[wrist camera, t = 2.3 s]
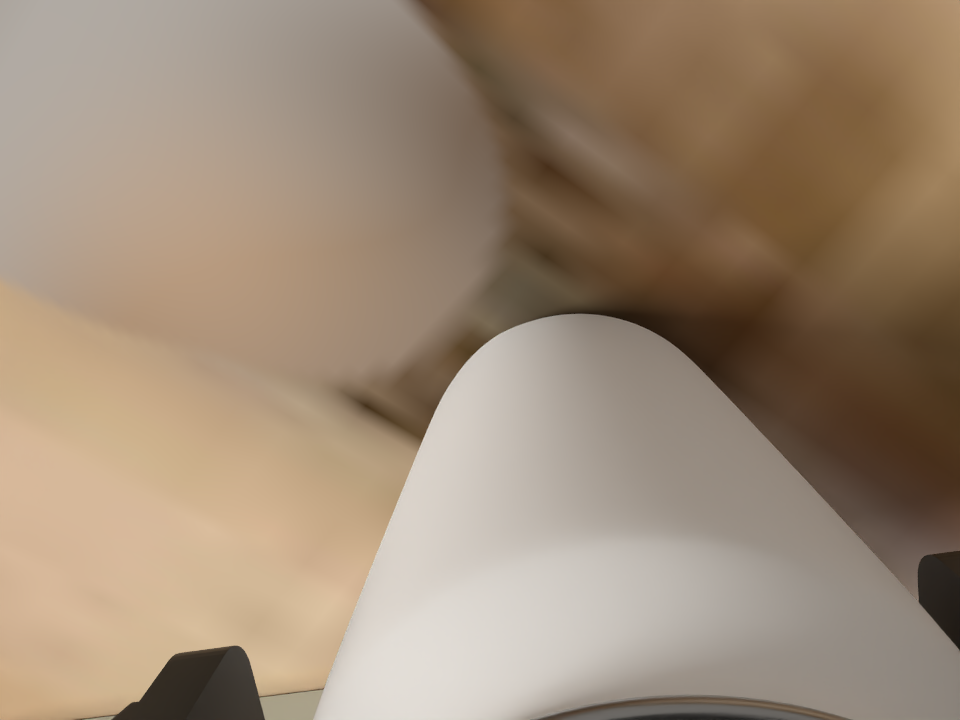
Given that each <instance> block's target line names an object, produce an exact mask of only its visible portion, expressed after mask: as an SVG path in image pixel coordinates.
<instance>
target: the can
mask: <svg viewBox="0 0 960 720" xmlns="http://www.w3.org/2000/svg"><path fill="white" fill-rule="evenodd" d="M313 720H960V650H959V649H958V648H957V646H956V645H955V644H954V643H953V642H952V641H951V639H950V638H949V637H948V636H947V635H946V634H945V632H944V631H943V630H942V629H941V628H940V627H939V625H938V624H937V623H936V622H935V621H934V620H933V618H932V617H931V616H930V615H929V614H928V613H927V612H926V610H925V609H924V608H923V607H922V606H921V605H920V603H919V602H918V601H917V600H916V599H915V598H914V597H913V595H912V594H911V593H910V592H909V591H908V590H907V589H906V588H905V587H904V586H903V585H902V583H901V582H900V581H899V580H898V579H897V578H896V577H895V576H894V575H893V574H892V572H891V571H890V570H889V569H888V568H887V567H886V566H885V565H884V564H883V563H882V562H881V560H880V559H879V558H878V557H877V556H876V555H875V554H874V553H873V552H872V551H871V550H870V548H869V547H868V546H867V545H866V544H865V543H864V542H863V541H862V540H861V539H860V538H859V537H858V536H857V534H856V533H855V532H854V531H853V530H852V529H851V528H850V527H849V526H848V525H847V524H846V523H845V522H844V520H843V519H842V518H841V517H840V516H839V515H838V514H837V513H836V512H835V511H834V510H833V509H832V508H831V507H830V505H829V504H828V503H827V502H826V501H825V500H824V499H823V498H822V497H821V496H820V495H819V494H818V493H817V491H816V490H815V489H814V488H813V487H812V486H811V485H810V484H809V483H808V482H807V481H806V480H805V479H804V478H803V477H802V475H801V474H800V473H799V472H798V471H797V470H796V469H795V468H794V467H793V466H792V465H791V464H790V463H789V462H788V461H787V459H786V458H785V457H784V456H783V455H782V454H781V453H780V452H779V451H778V450H777V449H776V448H775V447H774V446H773V445H772V444H771V442H770V441H769V440H768V439H767V438H766V437H765V436H764V435H763V434H762V433H761V432H760V431H759V430H758V429H757V428H756V427H755V426H754V424H753V423H752V422H751V421H750V420H749V419H748V418H747V417H746V416H745V415H744V414H743V413H742V412H741V411H740V410H739V409H738V408H737V407H736V405H735V404H734V403H733V402H732V401H731V400H730V399H729V398H728V397H727V396H726V395H725V394H724V393H723V392H722V391H721V390H720V389H719V388H718V387H717V386H716V385H715V384H714V383H713V381H712V380H711V379H710V378H709V377H708V376H707V375H706V374H705V373H704V372H703V371H702V370H701V369H700V368H699V367H698V366H697V365H696V364H695V363H694V362H693V361H692V360H691V359H690V358H688V357H687V356H686V355H685V354H684V353H683V352H682V351H680V350H679V349H678V348H677V347H675V346H674V345H673V344H672V343H670V342H669V341H667V340H666V339H664V338H662V337H661V336H659V335H657V334H656V333H654V332H652V331H650V330H648V329H646V328H644V327H641V326H639V325H637V324H634V323H631V322H628V321H625V320H621V319H618V318H613V317H608V316H602V315H594V314H565V315H557V316H551V317H545V318H541V319H537V320H534V321H530V322H527V323H524V324H521V325H519V326H516V327H514V328H511V329H509V330H507V331H505V332H503V333H501V334H499V335H497V336H496V337H494V338H493V339H491V340H490V341H489V342H487V343H486V344H485V345H484V346H482V347H481V348H480V349H479V350H478V351H477V352H476V353H475V354H474V355H473V356H472V357H471V358H470V359H469V360H468V361H467V362H466V363H465V365H464V366H463V367H462V368H461V370H460V371H459V372H458V374H457V375H456V376H455V378H454V379H453V381H452V382H451V384H450V385H449V387H448V388H447V390H446V392H445V394H444V395H443V397H442V399H441V401H440V403H439V405H438V407H437V409H436V411H435V413H434V416H433V418H432V420H431V422H430V425H429V427H428V429H427V432H426V434H425V436H424V439H423V441H422V444H421V446H420V449H419V451H418V453H417V456H416V458H415V461H414V463H413V466H412V468H411V470H410V473H409V475H408V478H407V480H406V483H405V485H404V488H403V490H402V492H401V495H400V497H399V500H398V502H397V505H396V507H395V510H394V512H393V515H392V517H391V520H390V522H389V525H388V527H387V530H386V532H385V535H384V537H383V539H382V542H381V544H380V547H379V549H378V552H377V554H376V557H375V559H374V562H373V564H372V567H371V569H370V572H369V574H368V577H367V579H366V582H365V585H364V587H363V590H362V592H361V595H360V597H359V600H358V602H357V605H356V607H355V610H354V612H353V615H352V617H351V620H350V622H349V625H348V627H347V630H346V633H345V635H344V638H343V640H342V643H341V645H340V648H339V651H338V653H337V656H336V658H335V661H334V664H333V666H332V669H331V671H330V674H329V676H328V679H327V682H326V684H325V687H324V690H323V693H322V696H321V699H320V701H319V704H318V707H317V710H316V713H315V716H314V718H313Z"/></svg>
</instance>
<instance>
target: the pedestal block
mask: <svg viewBox="0 0 960 720" xmlns="http://www.w3.org/2000/svg"><path fill="white" fill-rule="evenodd" d="M322 693H323V690H316V691H308V692H300V693H292V694H284V695H276V696H268V697H260V698H259V699H260V702H261V706H262V710H263V714H264V717H265V720H313V718H314V716H315V713H316V710H317V707H318V704H319V701H320V699H321V696H322ZM114 717H115V716H108V717H100V718H92V719H84V720H111V719H113V718H114Z"/></svg>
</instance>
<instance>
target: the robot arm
mask: <svg viewBox="0 0 960 720" xmlns="http://www.w3.org/2000/svg"><path fill="white" fill-rule="evenodd" d="M918 592H919V603H920V605H921V606H922V607H923V608H924V609H925V610H926V612H927V613H928V614H929V615H930V616H931V617H932V618H933V620H934V621H935V622H936V623H937V624H938V625H939V627H940V628H941V629H942V630H943V631H944V632H945V634H946V635H947V636H948V637H949V638H950V639H951V641H952V642H953V643H954V644H955V645H956V646H957V648H958V649H959V650H960V551H954V552H947V553H939V554H932V555H926V556H924V557H923V558H922V559H921V561H920V564H919V567H918ZM111 720H265V717H264V714H263V710H262V706H261V702H260V699H259V695H258V691H257V687H256V684H255V680H254V676H253V672H252V669H251V665H250V662H249V659H248V657H247V654H246V653H245V651H244V650H243V649H242V648H241V647H239V646H229V647H222V648H214V649H207V650H199V651H192V652H184V653H178V654H175V655H174V656H173V657H172V658H171V659H170V660H169V661H168V662H167V664H166V665H165V667H164V668H163V669H162V671H161V672H160V674H159V675H158V676H157V678H156V679H155V680H154V682H153V683H152V685H151V686H150V687H149V689H148V690H147V692H146V693H145V694H144V696H143V697H142V699H141V700H140V701H139V702H133V703H131V704H130V705H128V706H127V707H126V708H125V709H124V710H122V711H121V712H120V713H119V714H117V715H116V716H115V717H114V718H113V719H111Z"/></svg>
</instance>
